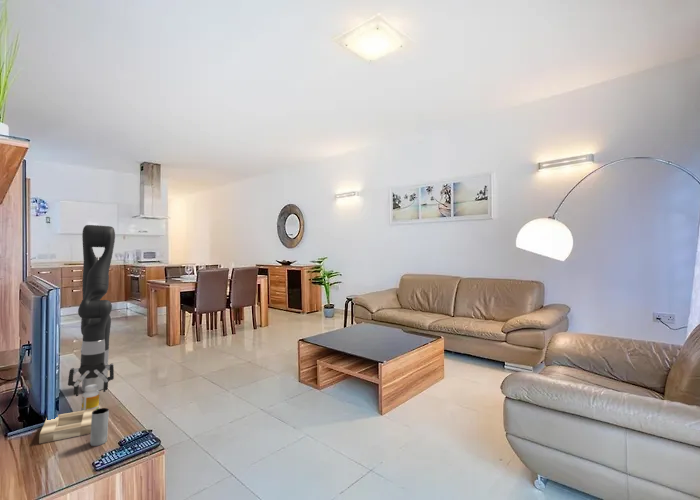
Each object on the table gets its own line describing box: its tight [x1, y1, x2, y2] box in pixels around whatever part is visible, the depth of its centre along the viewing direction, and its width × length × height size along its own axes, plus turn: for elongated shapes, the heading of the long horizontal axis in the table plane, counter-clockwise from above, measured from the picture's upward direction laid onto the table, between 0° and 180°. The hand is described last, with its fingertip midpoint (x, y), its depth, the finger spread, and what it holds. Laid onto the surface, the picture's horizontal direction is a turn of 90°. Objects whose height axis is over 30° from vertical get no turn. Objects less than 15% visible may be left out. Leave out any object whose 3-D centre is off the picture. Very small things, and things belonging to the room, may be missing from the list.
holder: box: [38, 408, 96, 444], centre depth 122 cm, size 14×14×3 cm
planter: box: [89, 407, 110, 447], centre depth 114 cm, size 4×4×10 cm
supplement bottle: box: [81, 385, 100, 411], centre depth 135 cm, size 5×5×10 cm
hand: (90, 393), depth 135 cm, fingers open, 8 cm apart
